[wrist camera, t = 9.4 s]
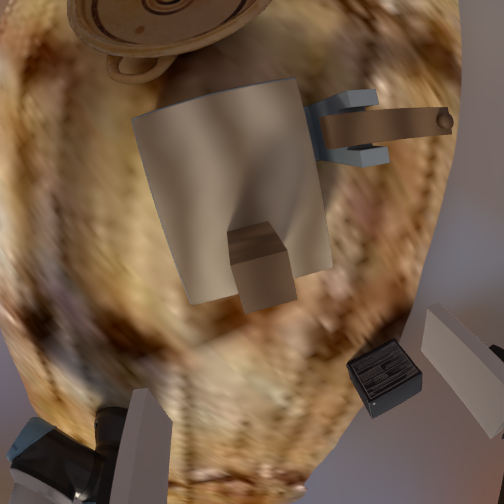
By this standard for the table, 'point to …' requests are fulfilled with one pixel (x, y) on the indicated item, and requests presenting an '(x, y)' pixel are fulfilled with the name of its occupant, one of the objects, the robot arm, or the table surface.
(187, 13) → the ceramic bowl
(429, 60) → the table surface
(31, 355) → the table surface
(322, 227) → the board with wooden block
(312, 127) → the toolbox
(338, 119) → the latch
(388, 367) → the small box
